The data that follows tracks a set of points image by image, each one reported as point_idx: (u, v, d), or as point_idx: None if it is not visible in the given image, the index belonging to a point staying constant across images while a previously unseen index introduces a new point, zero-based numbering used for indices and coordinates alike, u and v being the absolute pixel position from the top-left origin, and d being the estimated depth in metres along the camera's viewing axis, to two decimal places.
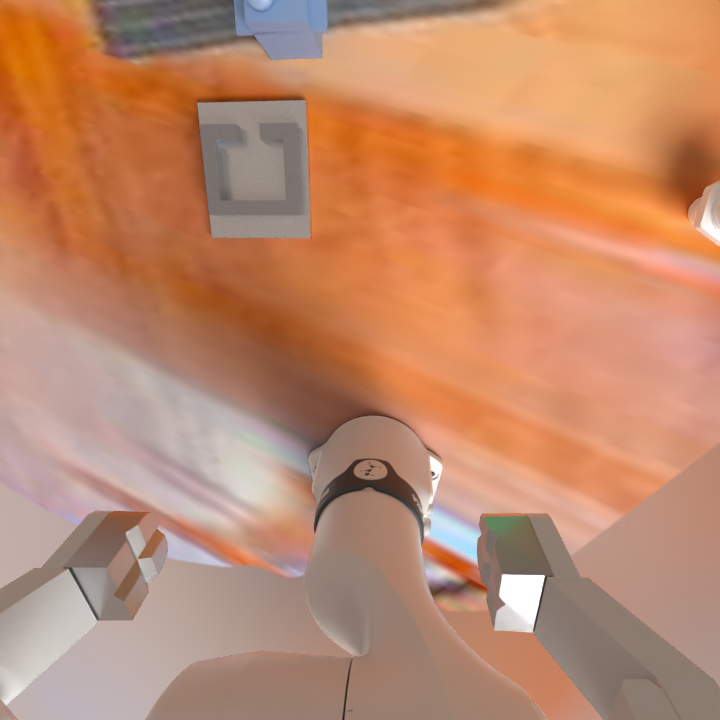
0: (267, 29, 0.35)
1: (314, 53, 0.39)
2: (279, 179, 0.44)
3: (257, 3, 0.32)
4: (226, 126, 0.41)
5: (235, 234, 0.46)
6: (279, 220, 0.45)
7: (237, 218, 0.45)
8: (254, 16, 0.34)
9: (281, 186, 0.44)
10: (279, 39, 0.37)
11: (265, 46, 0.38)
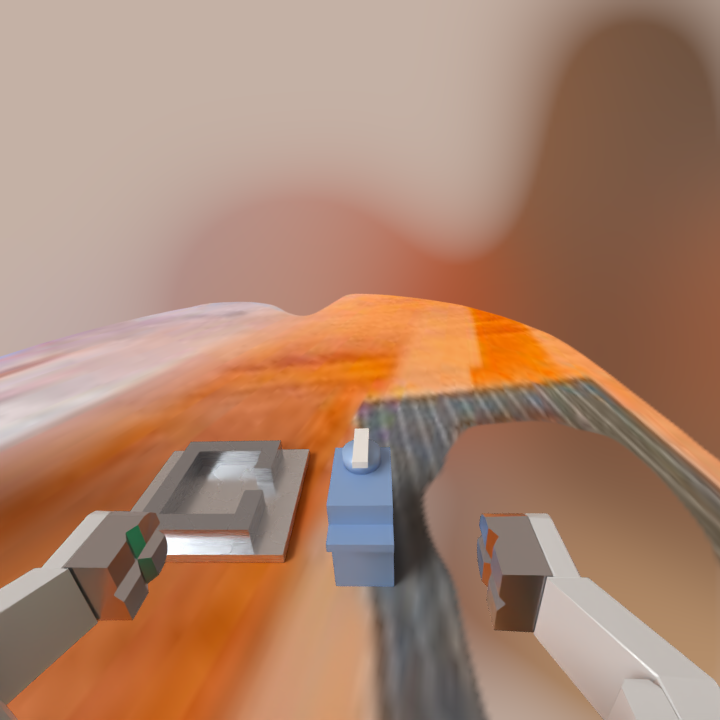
0: None
1: None
2: None
3: (344, 450, 0.26)
4: (271, 461, 0.35)
5: (163, 470, 0.37)
6: None
7: None
8: (340, 455, 0.28)
9: None
10: None
11: None
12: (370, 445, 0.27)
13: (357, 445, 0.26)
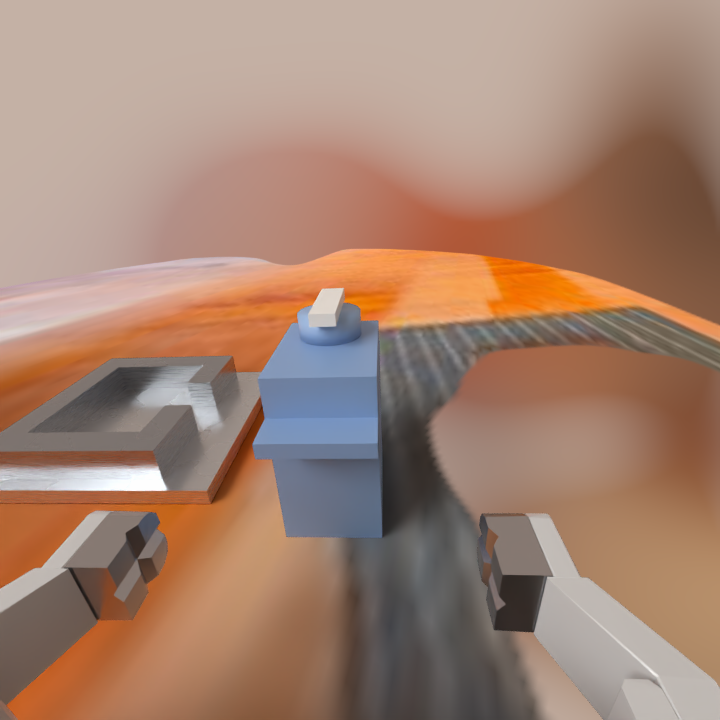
0: None
1: None
2: None
3: (301, 312, 0.16)
4: (213, 375, 0.25)
5: None
6: None
7: None
8: (297, 329, 0.17)
9: None
10: None
11: None
12: (344, 307, 0.16)
13: (321, 300, 0.16)
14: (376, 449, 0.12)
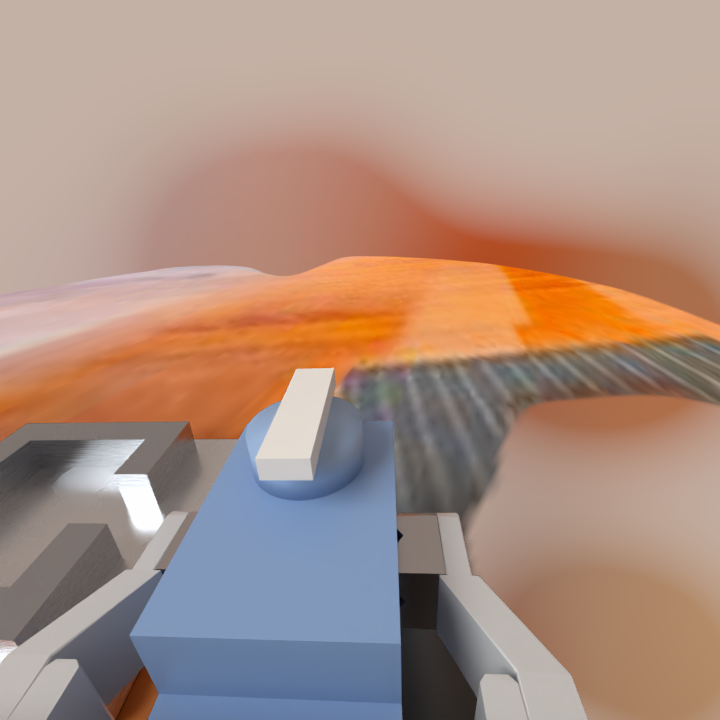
0: None
1: None
2: None
3: (255, 423, 0.09)
4: (154, 459, 0.17)
5: None
6: None
7: None
8: None
9: None
10: None
11: None
12: (333, 412, 0.09)
13: (290, 408, 0.08)
14: None
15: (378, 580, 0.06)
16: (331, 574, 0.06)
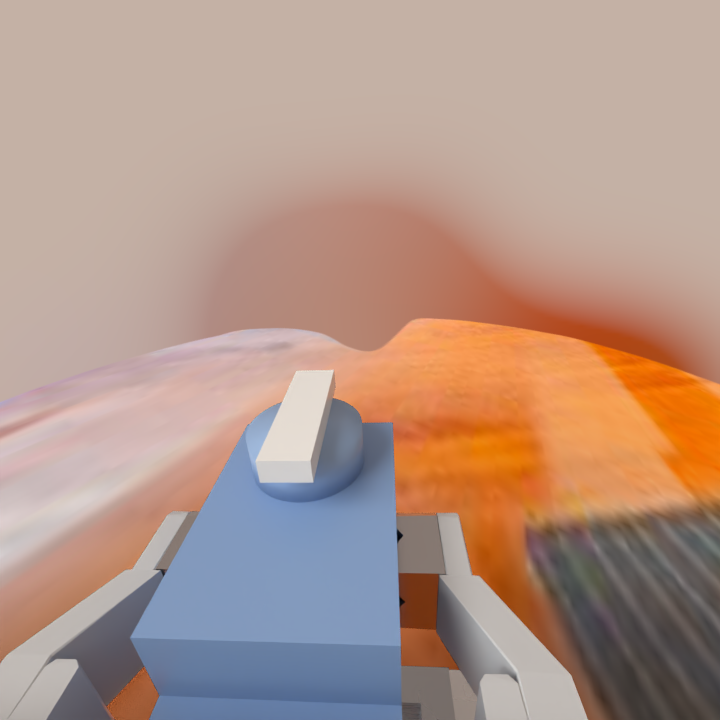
0: None
1: None
2: None
3: (256, 426, 0.09)
4: None
5: None
6: None
7: None
8: None
9: None
10: None
11: None
12: (334, 414, 0.09)
13: (291, 410, 0.08)
14: None
15: (378, 582, 0.06)
16: (331, 576, 0.06)
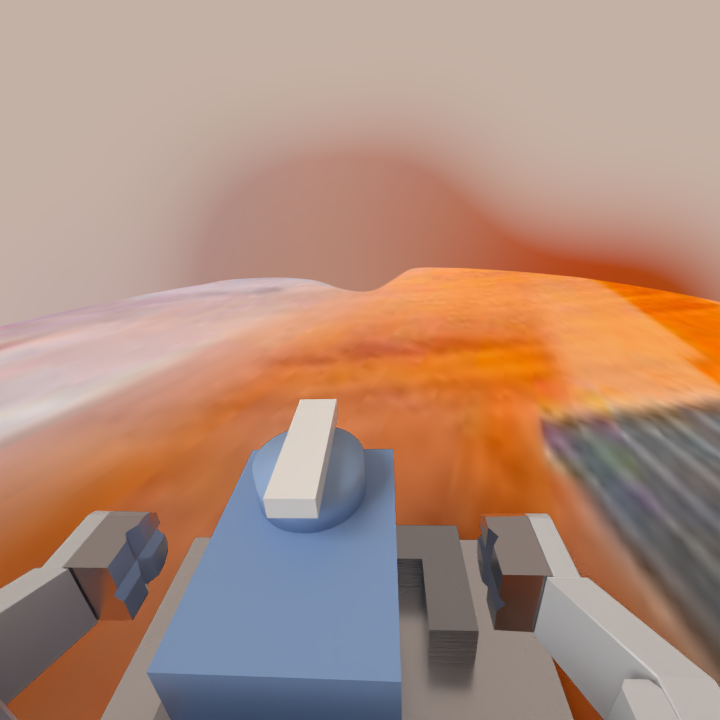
0: None
1: None
2: None
3: (262, 457, 0.09)
4: (466, 599, 0.13)
5: (171, 602, 0.15)
6: None
7: None
8: None
9: None
10: None
11: None
12: (336, 444, 0.09)
13: (295, 443, 0.09)
14: None
15: (380, 617, 0.07)
16: (335, 610, 0.07)
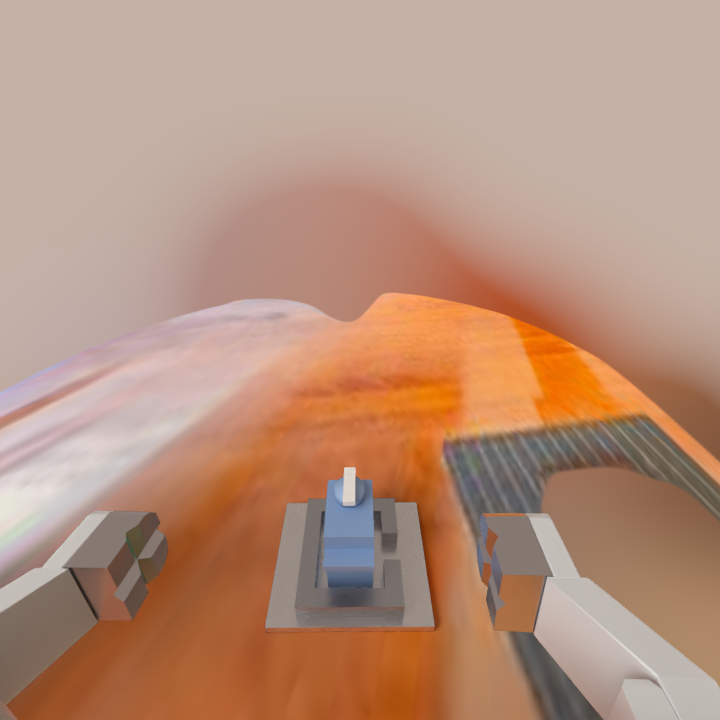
0: None
1: None
2: None
3: (336, 487, 0.33)
4: (394, 523, 0.38)
5: (286, 528, 0.39)
6: (294, 582, 0.35)
7: (303, 531, 0.39)
8: (332, 488, 0.34)
9: (334, 587, 0.34)
10: None
11: None
12: (356, 483, 0.34)
13: (346, 484, 0.33)
14: (373, 568, 0.30)
15: (369, 526, 0.31)
16: (360, 525, 0.31)
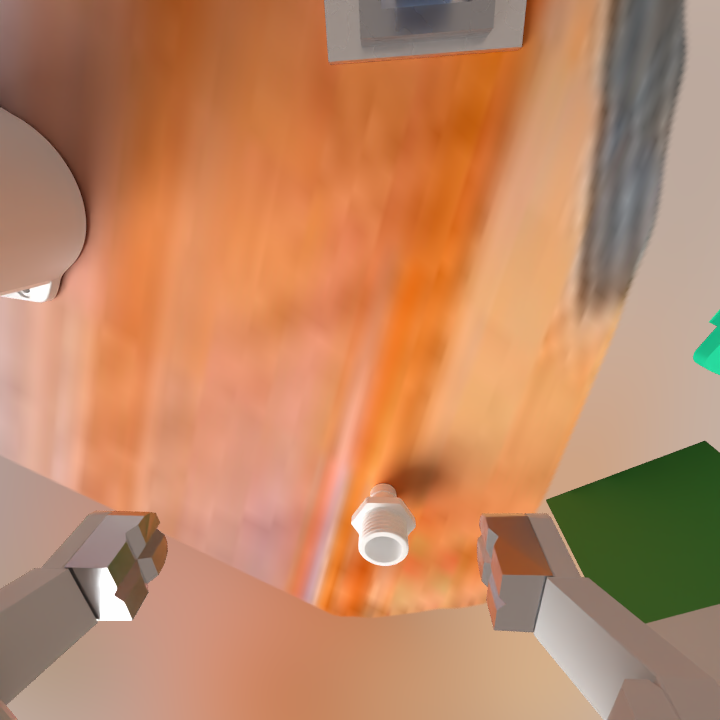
0: None
1: None
2: None
3: None
4: None
5: None
6: None
7: None
8: None
9: (404, 0, 0.27)
10: None
11: None
12: None
13: None
14: None
15: None
16: None
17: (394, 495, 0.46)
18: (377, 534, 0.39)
